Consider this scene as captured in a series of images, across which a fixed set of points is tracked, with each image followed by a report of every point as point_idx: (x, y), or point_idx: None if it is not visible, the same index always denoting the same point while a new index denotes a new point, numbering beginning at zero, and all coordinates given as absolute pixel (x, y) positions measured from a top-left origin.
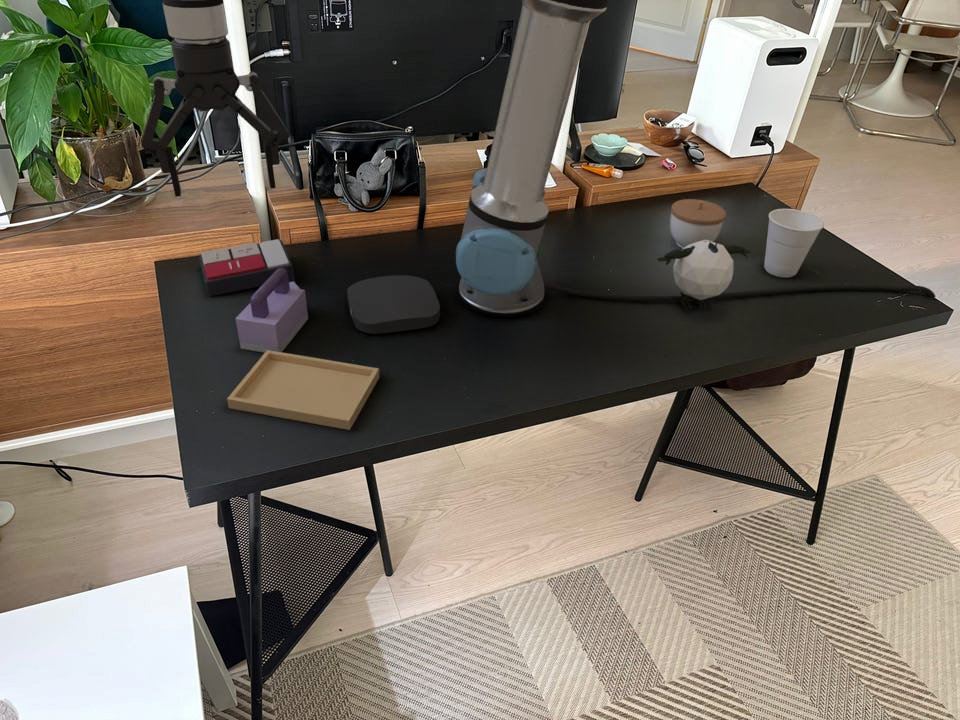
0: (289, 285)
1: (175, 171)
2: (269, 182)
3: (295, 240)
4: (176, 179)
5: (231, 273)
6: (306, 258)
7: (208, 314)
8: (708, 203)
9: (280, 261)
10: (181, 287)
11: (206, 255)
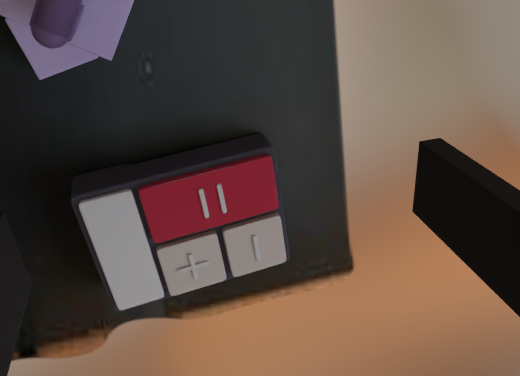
0: (48, 56)
1: (494, 194)
2: (12, 254)
3: (97, 347)
4: (469, 175)
5: (217, 168)
6: (60, 279)
7: (261, 58)
8: None
9: (101, 212)
10: (317, 174)
11: (275, 248)
